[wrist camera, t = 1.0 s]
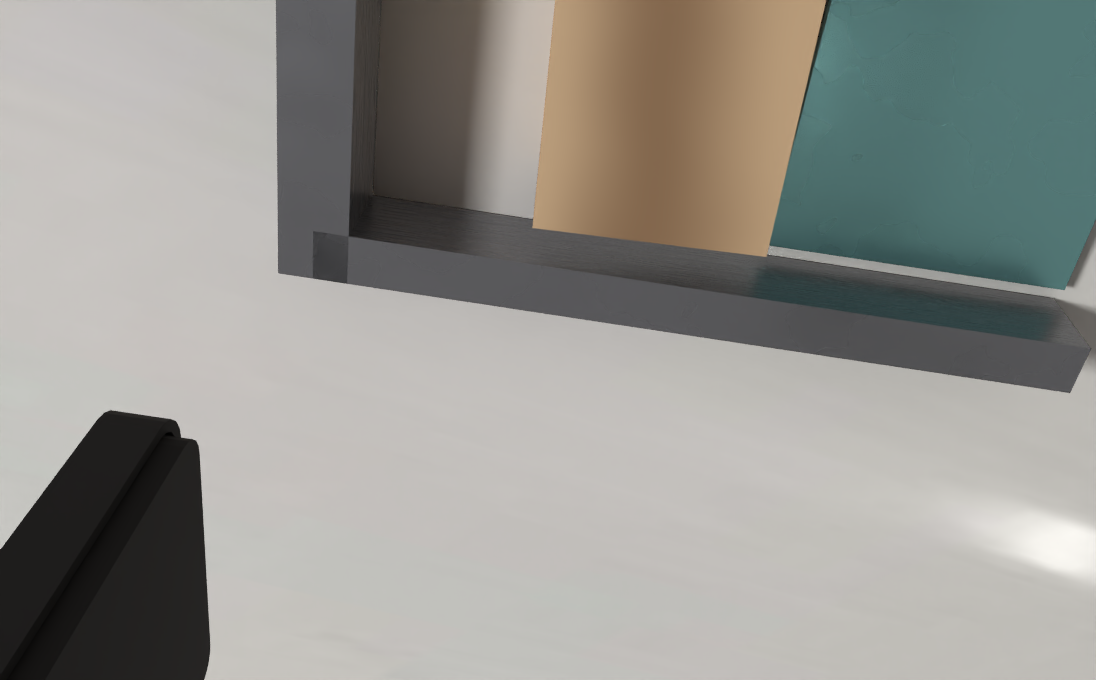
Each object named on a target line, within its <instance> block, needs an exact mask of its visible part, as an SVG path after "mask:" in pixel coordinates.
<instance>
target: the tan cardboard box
mask: <svg viewBox="0 0 1096 680" xmlns="http://www.w3.org/2000/svg"><path fill="white" fill-rule="evenodd" d="M825 3H826V0H555V8H554V18H553V28H552V38H551V48H550V58H549V68H548V78H547V88H546V98H545V108H544V118H543V128H542V137H541V147H540V157H539V167H538V177H537V187H536V197H535V207H534V217H533V227H532V228H537V229H545V230H553V231H561V232H569V233H578V234H586V235H594V236H602V237H610V238H618V239H626V240H634V241H642V242H650V243H658V244H666V245H674V246H682V247H690V248H698V249H706V250H714V251H722V252H730V253H738V254H747V255H755V256H763V257H766V256H767V252H768V248H769V244H770V239H771V235H772V231H773V226H774V222H775V218H776V214H777V209H778V205H779V201H780V196H781V192H782V188H783V184H784V179H785V175H786V171H787V166H788V162H789V158H790V154H791V149H792V145H793V141H794V136H795V132H796V128H797V123H798V119H799V115H800V111H801V106H802V102H803V98H804V93H805V89H806V85H807V81H808V76H809V72H810V68H811V63H812V59H813V55H814V51H815V46H816V42H817V38H818V33H819V29H820V25H821V20H822V16H823V12H824V8H825Z"/></svg>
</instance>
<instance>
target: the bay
mask: <svg viewBox="0 0 1096 680" xmlns="http://www.w3.org/2000/svg"><path fill="white" fill-rule="evenodd" d="M380 16H381V0H276V48H277V173H278V273H280V274H287V275H294V276H300V277H307V278H313V279H320V280H327V281H333V282H340V283H347V284H353V285H360V286H366V287H373V288H380V289H386V290H393V291H399V292H406V293H413V294H419V295H426V296H432V297H439V298H446V299H452V300H459V301H466V302H472V303H479V304H485V305H492V306H499V307H505V308H512V309H518V310H525V311H532V312H538V313H545V314H551V315H558V316H565V317H571V318H578V319H585V320H591V321H598V322H604V323H611V324H618V325H624V326H631V327H637V328H644V329H651V330H657V331H664V332H670V333H677V334H684V335H690V336H697V337H704V338H710V339H717V340H723V341H730V342H737V343H743V344H750V345H756V346H763V347H770V348H776V349H783V350H789V351H796V352H803V353H809V354H816V355H823V356H829V357H836V358H842V359H849V360H856V361H862V362H869V363H875V364H882V365H889V366H895V367H902V368H908V369H915V370H922V371H928V372H935V373H942V374H948V375H955V376H961V377H968V378H975V379H981V380H988V381H994V382H1001V383H1008V384H1014V385H1021V386H1027V387H1034V388H1041V389H1047V390H1054V391H1061V392H1067V393H1070V392H1071V390H1072V388H1073V386H1074V383H1075V381H1076V379H1077V377H1078V375H1079V373H1080V371H1081V369H1082V367H1083V364H1084V362H1085V360H1086V358H1087V356H1088V354H1089V352H1090V350H1091V348H1090V347H1089V346H1088V344H1087V343H1086V341H1085V340H1084V339H1083V337H1082V336H1081V335H1080V333H1079V332H1078V331H1077V329H1076V328H1075V327H1074V325H1073V324H1072V323H1071V321H1070V320H1069V319H1068V317H1067V316H1066V314H1065V313H1064V312H1063V310H1062V309H1061V308H1060V306H1059V305H1058V304H1057V302H1056V301H1055V300H1054V298H1048V297H1042V296H1035V295H1028V294H1022V293H1015V292H1008V291H1002V290H995V289H989V288H982V287H975V286H969V285H962V284H956V283H949V282H942V281H936V280H929V279H923V278H916V277H909V276H903V275H896V274H889V273H883V272H876V271H870V270H863V269H856V268H850V267H843V266H837V265H830V264H823V263H817V262H810V261H803V260H797V259H790V258H784V257H777V256H770V255H767V256H766V257H763V256H755V255H747V254H738V253H730V252H722V251H714V250H706V249H698V248H690V247H682V246H674V245H666V244H658V243H650V242H642V241H634V240H626V239H618V238H610V237H602V236H594V235H586V234H578V233H569V232H561V231H553V230H545V229H537V228H532V227H533V220H532V219H526V218H519V217H512V216H506V215H499V214H493V213H486V212H479V211H473V210H466V209H460V208H453V207H446V206H440V205H433V204H426V203H420V202H413V201H407V200H400V199H393V198H387V197H380V196H374V195H373V177H374V154H375V131H376V108H377V85H378V62H379V39H380ZM1095 220H1096V0H829V1H828V4H827V8H826V12H825V16H824V20H823V23H822V27H821V31H820V35H819V39H818V42H817V46H816V50H815V54H814V58H813V61H812V65H811V69H810V73H809V76H808V81H807V85H806V89H805V93H804V98H803V102H802V106H801V111H800V115H799V119H798V123H797V128H796V132H795V136H794V141H793V145H792V149H791V154H790V158H789V162H788V166H787V171H786V175H785V179H784V184H783V188H782V192H781V196H780V201H779V205H778V209H777V214H776V218H775V222H774V226H773V231H772V235H771V239H770V244H769V245H770V246H777V247H783V248H790V249H796V250H803V251H810V252H816V253H823V254H829V255H836V256H843V257H849V258H856V259H863V260H869V261H876V262H882V263H889V264H896V265H902V266H909V267H915V268H922V269H929V270H935V271H942V272H949V273H955V274H962V275H968V276H975V277H982V278H988V279H995V280H1001V281H1008V282H1015V283H1021V284H1028V285H1034V286H1041V287H1048V288H1054V289H1061V290H1065V288H1066V286H1067V283H1068V281H1069V279H1070V277H1071V274H1072V272H1073V270H1074V268H1075V265H1076V263H1077V261H1078V259H1079V256H1080V254H1081V252H1082V250H1083V247H1084V245H1085V243H1086V240H1087V238H1088V236H1089V234H1090V231H1091V229H1092V227H1093V225H1094V222H1095Z"/></svg>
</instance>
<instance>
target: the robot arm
mask: <svg viewBox="0 0 1096 680" xmlns="http://www.w3.org/2000/svg"><path fill="white" fill-rule="evenodd" d="M209 655H210V633H209V615H208V597H207V579H206V561H205V544H204V526H203V508H202V490H201V472H200V454H199V447H198V444H197V442H196V441H195V440H193V439H187V438H181V434H180V428H179V426H178V424H177V422H176V421H174V420H172V419H165V418H159V417H152V416H145V415H138V414H132V413H125V412H118V411H112V410H111V411H108V412H105V413H104V414H103V415H102V416H101V417H100V418H99V419H98V420H97V421H96V422H95V424H94V425H93V426H92V428H91V429H90V430H89V432H88V433H87V434H86V436H85V437H84V438H83V440H82V441H81V442H80V444H79V445H78V446H77V448H76V449H75V450H74V452H73V453H72V454H71V456H70V457H69V459H68V460H67V461H66V463H65V464H64V465H63V467H62V468H61V469H60V471H59V472H58V473H57V475H56V476H55V477H54V479H53V480H52V481H51V483H50V484H49V485H48V487H47V488H46V489H45V491H44V492H43V493H42V495H41V496H40V497H39V499H38V500H37V501H36V503H35V504H34V505H33V507H32V508H31V509H30V511H29V512H28V513H27V515H26V516H25V517H24V519H23V520H22V522H21V523H20V524H19V526H18V527H17V528H16V530H15V531H14V532H13V534H12V535H11V536H10V538H9V539H8V540H7V542H6V543H5V544H4V546H3V547H2V548H1V549H0V680H204V678H205V675H206V671H207V667H208V662H209Z"/></svg>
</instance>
